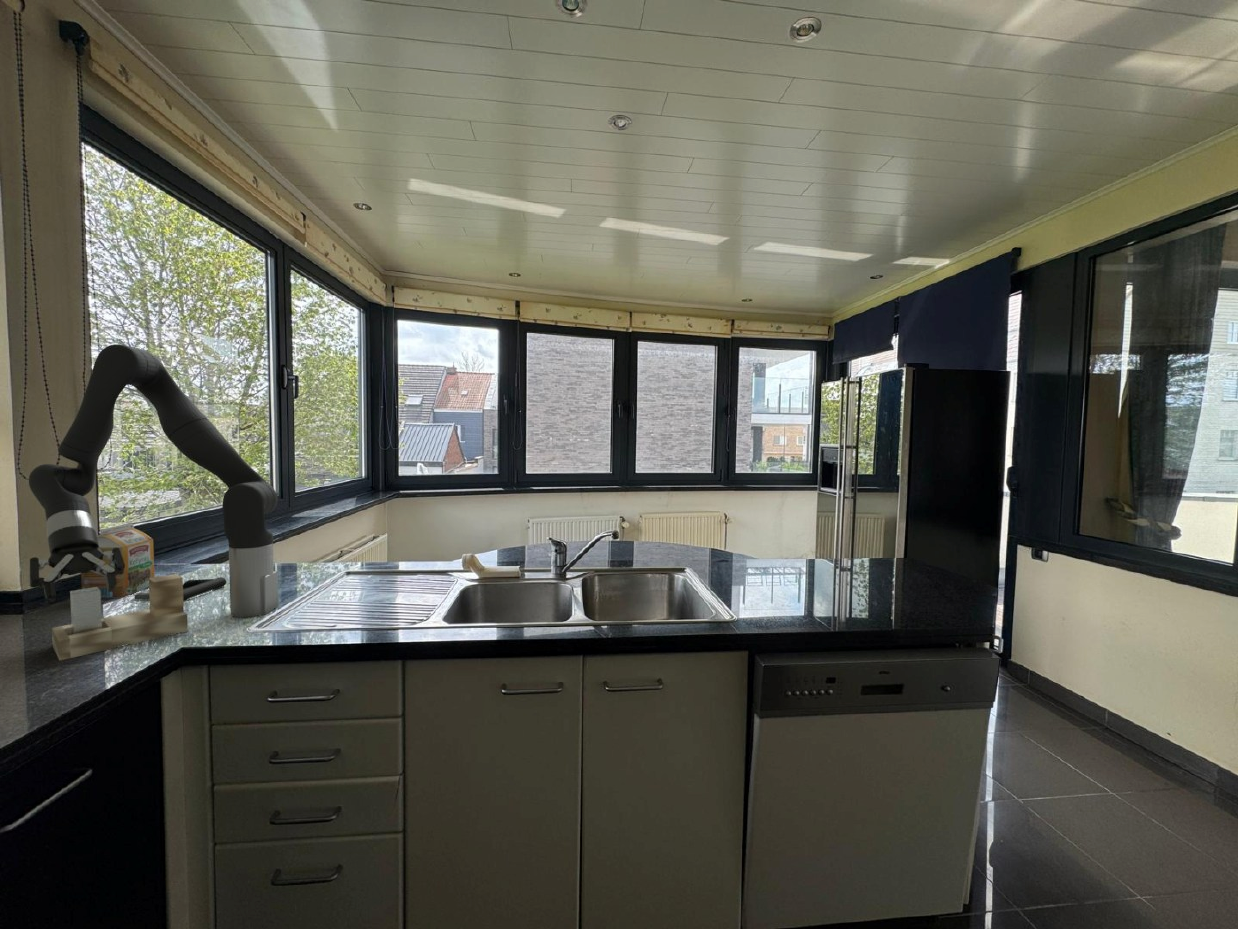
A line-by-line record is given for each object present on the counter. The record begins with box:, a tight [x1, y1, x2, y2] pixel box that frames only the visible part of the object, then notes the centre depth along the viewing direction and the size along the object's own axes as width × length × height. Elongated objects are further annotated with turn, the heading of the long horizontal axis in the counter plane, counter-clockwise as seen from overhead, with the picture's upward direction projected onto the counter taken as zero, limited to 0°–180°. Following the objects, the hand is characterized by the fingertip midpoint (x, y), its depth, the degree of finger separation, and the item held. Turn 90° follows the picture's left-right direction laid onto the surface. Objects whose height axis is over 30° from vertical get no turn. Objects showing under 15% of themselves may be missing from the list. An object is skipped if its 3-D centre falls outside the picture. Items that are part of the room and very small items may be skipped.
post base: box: [51, 573, 189, 661], centre depth 113 cm, size 20×11×12 cm, turn 143°
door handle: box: [133, 576, 227, 602], centre depth 143 cm, size 3×20×16 cm
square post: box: [69, 587, 102, 635], centre depth 108 cm, size 4×4×12 cm
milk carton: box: [80, 523, 156, 599], centre depth 145 cm, size 10×11×19 cm
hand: (83, 594), depth 110 cm, fingers open, 8 cm apart
